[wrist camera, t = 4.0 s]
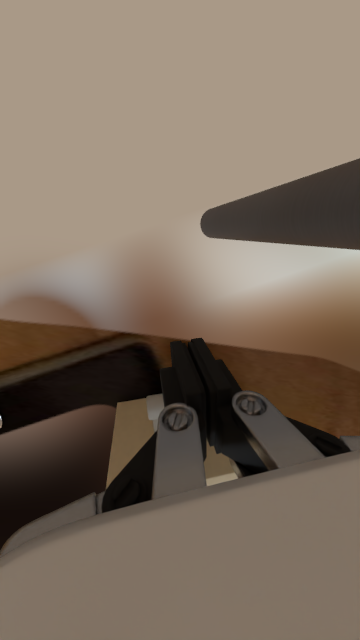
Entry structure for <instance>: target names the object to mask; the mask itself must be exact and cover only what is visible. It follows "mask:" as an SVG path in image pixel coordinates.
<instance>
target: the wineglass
mask: <svg viewBox="0 0 360 640" xmlns="http://www.w3.org/2000/svg"><path fill="white" fill-rule="evenodd" d="M2 424H3V419H2V416H1V414H0V428H1V427H2Z"/></svg>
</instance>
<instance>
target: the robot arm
mask: <svg viewBox="0 0 360 640" xmlns="http://www.w3.org/2000/svg"><path fill="white" fill-rule="evenodd" d="M170 347H171V359H172V367H168V368H162V369H159V370H160V379H161V387H162V395H163V402H164V409H163V410H162V411H161V412H160V414H159V417H158V425H157V431H156V432H155V433H154V434H153V435H152V436H151V438H150V439H149V440H148V441H147V442H146V443H145V444H144V445H143V447H142V448H141V449H140V450H139V451H138V452H137V453H136V455H135V456H134V457H133V458H132V459H131V460H130V461H129V463H128V464H127V465H126V466H125V467H124V468H123V469H122V470H121V472H120V473H119V474H118V475H117V476H116V477H115V478H114V480H113V481H112V482H111V483H110V485H109V486H108V488H107V489H106V491H104V492H102V493H100V494H98V495H96V494H95V492H94V493H92V494H90V495H88V496H85V497H83V498H81V499H79V500H77V501H75V502H73V503H70V504H69V505H66V506H64V507H62V508H60V509H58V510H56V511H54V512H52V513H49V514H47V515H45V516H43V517H41V518H39V519H37V520H35V521H32V522H30V523H28V524H27V525H25V526H23V527H22V528H20V529H19V530H17V531H16V533H14V534H13V535H12V537H10V538H9V539H8V540H7V542H6V543H5V545H4V546H3V548H2V549H1V550H0V640H360V436H340V439H338V438H337V437H335V436H333V435H331V434H329V433H326V432H324V431H321V430H319V429H316V428H314V427H311V426H308V425H306V424H303V423H301V422H298V421H296V420H293V419H291V418H288V417H285V416H284V415H283V414H282V413H281V412H280V411H279V410H278V409H277V408H276V407H275V406H274V405H273V404H272V403H271V402H270V401H269V400H268V399H267V398H265V397H264V396H263V395H261V394H259V393H257V392H253V391H242V390H241V388H240V386H239V385H238V383H237V382H236V380H235V379H234V377H233V376H232V374H231V373H230V371H229V370H228V368H227V367H226V365H225V364H224V362H223V361H222V360H221V359H220V360H215V359H214V357H213V355H212V354H211V352H210V350H209V349H208V347H207V345H206V344H205V342H204V340H203V339H202V338H196V339H191V342H188V348H187V346H186V344H185V343H182V342H181V341H174V342H170ZM207 441H208V443H209V446H210V447H211V446H214V448H215V451H216V454H220V453H222V454H223V455H225V456H227V457H229V461H230V464H231V466H232V468H233V470H234V472H235V474H236V475H237V477H238V479H235V480H231V481H226V482H222V483H218V484H214V485H210V486H207V483H206V476H205V468H204V461H205V459H206V457H207Z"/></svg>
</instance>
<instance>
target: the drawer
mask: <svg viewBox="0 0 360 640" xmlns="http://www.w3.org/2000/svg"><path fill="white" fill-rule="evenodd" d="M163 409H164V402H163V395H162V394H156V395H150V396H147V398H143V399H137V400H131V401H125V402H119V403H117V410H116V417H115V425H114V432H113V440H112V447H111V454H110V462H109V469H108V477H107V485H106V489H107V488H108V486H109V485H110V483H111V482H112V481H113V480H114V478H115V477H116V476H117V475H118V474H119V473H120V472H121V470H122V469H123V468H124V467H125V466H126V465H127V464H128V463H129V461H130V460H131V459H132V458H133V457H134V456H135V455H136V453H137V452H138V451H139V450H140V449H141V448H142V447H143V445H144V444H145V443H146V442H147V441H148V440H149V439H150V438H151V436H152V435H153V434H154V433H155V432H156V431H157V425H158V417H159V414H160V412H161V411H162V410H163ZM204 468H205V476H206V483H207V486H210V485H214V484H218V483H222V482H226V481H231V480H235V479H238V477H237V475H236V474H235V472H234V470H233V468H232V466H231V464H230V461H229V457H227V456H225V455H223V454H222V453H220V454H216V451H215V448H214V446H211V447H210V446H209V443H208V441H207V457H206V459H205V461H204Z"/></svg>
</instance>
